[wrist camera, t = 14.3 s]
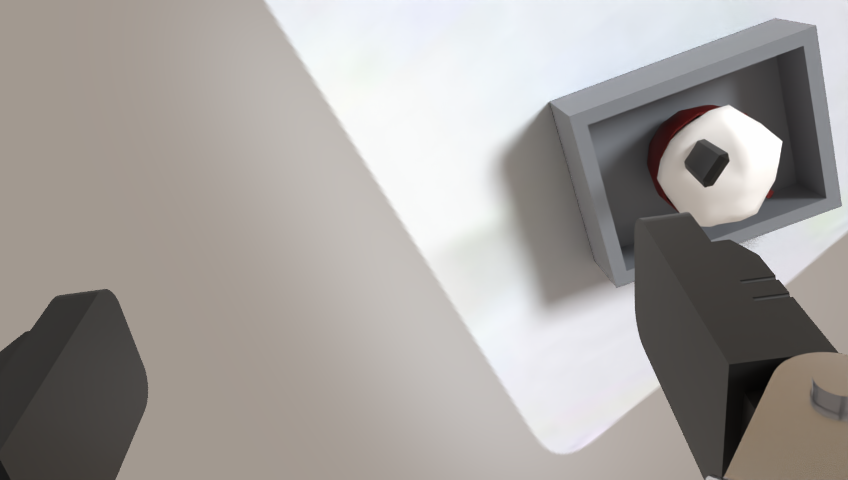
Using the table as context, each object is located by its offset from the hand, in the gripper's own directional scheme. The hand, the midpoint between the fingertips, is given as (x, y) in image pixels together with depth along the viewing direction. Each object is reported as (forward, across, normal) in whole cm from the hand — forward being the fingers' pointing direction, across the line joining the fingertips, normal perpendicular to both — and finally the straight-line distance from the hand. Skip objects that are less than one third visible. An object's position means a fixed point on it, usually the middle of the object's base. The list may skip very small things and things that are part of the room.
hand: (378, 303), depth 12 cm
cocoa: (+32, -15, +12) cm, 38 cm away
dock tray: (+33, -15, +13) cm, 38 cm away
